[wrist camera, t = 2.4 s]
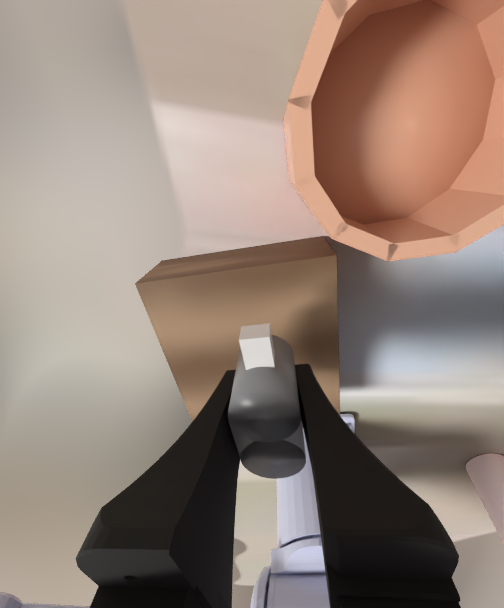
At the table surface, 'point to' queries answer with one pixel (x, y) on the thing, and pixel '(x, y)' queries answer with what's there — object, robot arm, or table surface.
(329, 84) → the bowl
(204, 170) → the table surface
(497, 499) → the smoothie
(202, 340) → the board
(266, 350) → the connector
